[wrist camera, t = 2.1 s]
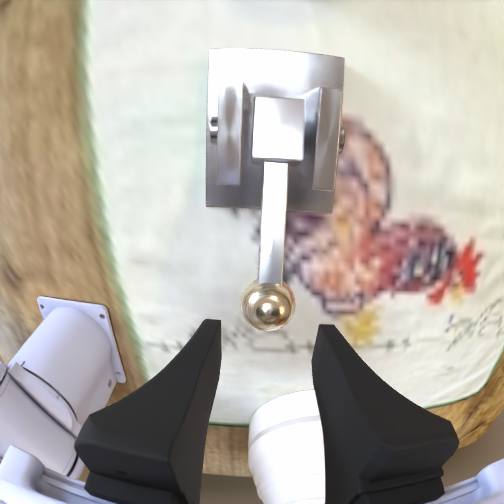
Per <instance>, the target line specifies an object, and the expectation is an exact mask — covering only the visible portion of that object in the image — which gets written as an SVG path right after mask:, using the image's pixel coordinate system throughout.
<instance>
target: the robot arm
mask: <svg viewBox="0 0 504 504" xmlns="http://www.w3.org/2000/svg"><path fill="white" fill-rule="evenodd" d="M37 302H38V305H39V308H40V311H41V314H42V317H43V320H44V321H43V322H42V323H41V324H40V325H39V326H38V328H37V329H36V330H35V331H34V332H33V334H32V335H31V336H30V337H29V339H28V340H27V341H26V342H25V343H24V345H23V346H22V347H21V348H20V350H19V351H18V352H17V353H16V355H15V356H14V357H13V359H12V360H11V361H10V362H9V364H8V365H7V366H5V365H4V364H3V363H2V362H0V458H1V459H2V462H1V461H0V504H199V502H200V490H201V478H202V469H203V460H204V450H205V442H206V434H207V428H208V423H209V418H210V414H211V410H212V406H213V402H214V398H215V394H216V390H217V385H218V381H219V375H220V367H221V358H222V354H221V320H212V319H205V320H204V321H203V322H202V324H201V325H200V327H199V328H198V329H197V331H196V332H195V334H194V335H193V336H192V338H191V339H190V340H189V341H188V343H187V344H186V345H185V346H184V347H183V349H182V350H181V351H180V352H179V353H178V354H177V355H176V356H175V357H174V359H173V360H172V361H171V362H170V363H169V364H168V365H167V366H166V367H165V368H164V369H163V370H161V371H160V372H159V373H158V374H157V375H156V376H154V377H153V378H152V379H151V380H150V381H148V382H147V383H146V384H144V385H143V386H142V387H140V388H139V389H137V390H136V391H134V392H133V393H131V394H129V395H128V396H126V397H124V398H123V399H121V400H119V401H118V402H116V403H114V404H112V405H110V406H107V407H106V405H107V402H108V400H109V398H110V396H111V394H112V391H113V389H114V387H115V385H116V383H117V382H119V383H125V382H126V376H125V373H124V370H123V366H122V363H121V360H120V356H119V353H118V349H117V345H116V342H115V338H114V334H113V330H112V326H111V322H110V318H109V314H108V310H107V308H106V307H105V306H103V305H98V304H91V303H83V302H76V301H69V300H63V299H56V298H50V297H44V296H40V297H39V298H38V299H37ZM103 315H104V316H105V317H104V316H103ZM311 362H312V376H313V385H314V390H315V395H316V400H317V405H318V409H319V414H320V419H321V424H322V431H323V441H324V458H325V504H504V459H501V460H499V461H497V462H494V463H492V464H490V465H489V466H487V467H485V468H484V469H483V470H482V471H480V472H479V474H478V475H477V476H476V477H473V478H470V479H468V480H465V481H463V482H459V483H457V484H454V485H451V486H448V487H445V488H444V487H443V484H442V481H441V478H440V477H442V476H443V474H444V473H443V470H442V465H443V464H444V463H445V462H446V461H447V460H448V459H449V458H450V457H451V456H452V455H453V454H454V452H455V451H456V450H457V448H458V445H459V439H458V437H457V434H456V432H455V430H454V428H453V425H452V424H451V422H450V421H449V420H446V419H444V418H442V417H440V416H438V415H435V414H433V413H431V412H429V411H427V410H425V409H423V408H422V407H420V406H418V405H416V404H415V403H413V402H412V401H410V400H408V399H407V398H406V397H404V396H403V395H401V394H400V393H398V392H397V391H396V390H394V389H393V388H392V387H391V386H389V385H388V384H387V383H386V382H385V381H383V380H382V379H381V378H380V377H379V376H378V375H377V374H376V373H375V372H374V371H373V370H372V369H371V368H370V367H369V366H368V365H367V364H366V363H365V362H364V361H363V360H362V359H361V358H360V356H359V355H358V354H357V353H356V352H355V351H354V349H353V348H352V347H351V346H350V344H349V343H348V342H347V341H346V339H345V338H344V337H343V336H342V334H341V333H340V332H339V330H338V329H337V328H336V327H335V325H328V324H319V328H318V333H317V337H316V342H315V347H314V352H313V356H312V361H311ZM85 465H86V467H87V468H88V469H89V470H90V473H89V475H88V478H87V481H86V483H85V482H82V481H79V480H78V479H79V477H80V476H81V474H82V471H83V469H84V466H85Z"/></svg>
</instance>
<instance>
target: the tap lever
mask: <svg viewBox="0 0 504 504" xmlns="http://www.w3.org/2000/svg"><path fill="white" fill-rule="evenodd" d="M304 136H305V100H304V99H294V98H281V97H265V96H255V97H254V110H253V129H252V148H251V159H252V163H253V164H259V165H264V166H263V187H262V207H261V226H260V246H259V264H258V279H257V280H255V281H253V282H252V283H250V284H249V285H248V286H247V288H246V289H245V290H244V292H243V295H242V298H241V311H242V314H243V316H244V318H245V320H246V321H247V322H248V323H249V324H250V325H251V326H252V327H254V328H256V329H258V330H261V331H275V330H278V329H280V328H282V327H283V326H285V325H286V324H287V323H288V322H289V321H290V320H291V318H292V316H293V314H294V311H295V298H294V294H293V292H292V290H291V289H290V287H289V286H288V285H287V284H286V283H285V282H283V281H282V276H283V261H284V246H285V230H286V213H287V194H288V174H289V166H292V167H296V166H298V165H299V164H300V163H301V162H302V161H303V160H304Z"/></svg>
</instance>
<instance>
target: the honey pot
mask: <svg viewBox="0 0 504 504" xmlns="http://www.w3.org/2000/svg"><path fill="white" fill-rule="evenodd" d="M248 451H249V452H248V457H249V458H248V461H247V463H248V468H249V470H250V473H251V474H252V476H253V480H254V483H255V486H256V487H257V494H258V496H259V498H260V499H261V500H262V501H263V503H264V504H325V458H324V441H323V431H322V424H321V419H320V414H319V409H318V405H317V400H316V395H315V390H307V391H298V392H294V393H291V394H287V395H283V396H280V397H278V398H276V399H274V400H271V401H269V402H267V403H266V404H264V405H263V406H262V407H260V408H259V409H257V411H256V412H255V413H254V415H253V416H252V417H251V420H250V425H249V439H248Z"/></svg>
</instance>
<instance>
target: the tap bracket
mask: <svg viewBox="0 0 504 504" xmlns="http://www.w3.org/2000/svg"><path fill="white" fill-rule="evenodd" d="M343 83H344V58H343V57H337V56H330V55H323V54H315V53H306V52H296V51H283V50H268V49H210V51H209V71H208V95H207V129H206V207H227V208H249V209H261V207H262V187H263V166H264V165H259V164H253V163H252V159H251V148H252V129H253V110H254V97H255V96H265V97H281V98H294V99H304V100H305V136H304V160H303V161H302V162H301V163H300V164H299V165H298V166H296V167H292V166H289V174H288V194H287V211H302V212H317V213H332V209H333V201H334V192H335V184H336V174H337V164H338V154H339V153H341V152H342V150H343V147H344V141H345V130H344V126H343V125H342V124H341V117H342V101H343Z"/></svg>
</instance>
